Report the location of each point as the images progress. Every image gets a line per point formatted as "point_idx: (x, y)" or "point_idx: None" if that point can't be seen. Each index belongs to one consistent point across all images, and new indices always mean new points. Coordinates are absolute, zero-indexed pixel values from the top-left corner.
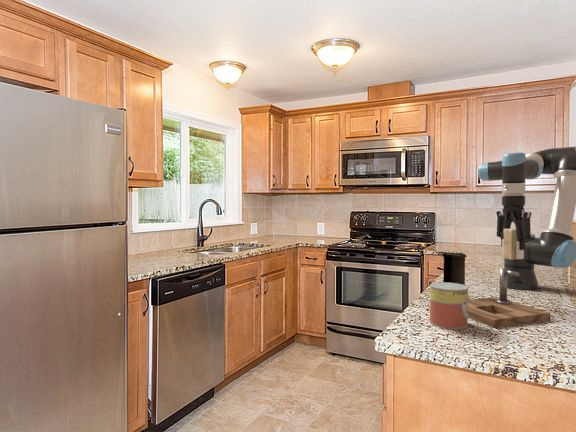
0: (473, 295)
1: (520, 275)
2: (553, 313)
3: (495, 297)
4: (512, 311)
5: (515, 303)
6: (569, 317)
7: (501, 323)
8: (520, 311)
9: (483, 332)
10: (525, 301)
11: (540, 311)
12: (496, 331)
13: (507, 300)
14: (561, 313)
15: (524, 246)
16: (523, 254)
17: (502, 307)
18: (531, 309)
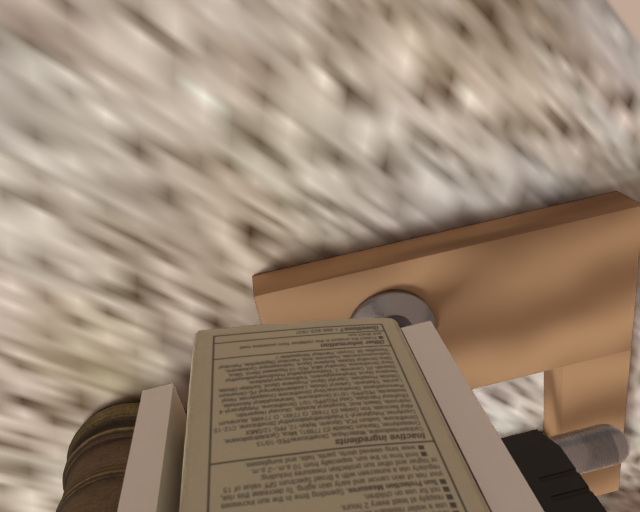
0: (21, 313)
1: (621, 431)
2: (526, 71)
3: (264, 309)
4: (550, 369)
5: (424, 272)
6: (620, 36)
7: None
8: (565, 336)
9: (624, 509)
10: (214, 40)
11: (603, 240)
12: (634, 471)
13: (389, 306)
14: (541, 16)
15: (579, 489)
16: (452, 361)
17: (478, 379)
18: (557, 262)
